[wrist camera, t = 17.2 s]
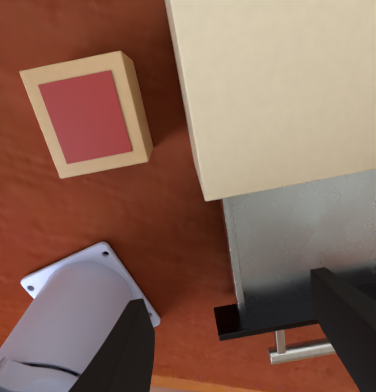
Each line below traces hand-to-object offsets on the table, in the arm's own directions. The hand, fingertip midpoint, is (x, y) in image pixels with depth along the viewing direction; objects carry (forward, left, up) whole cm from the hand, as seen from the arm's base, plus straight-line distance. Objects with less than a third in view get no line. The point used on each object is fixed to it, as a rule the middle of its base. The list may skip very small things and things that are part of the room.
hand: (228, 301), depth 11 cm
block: (+9, +3, -9) cm, 14 cm away
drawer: (-7, -6, -8) cm, 12 cm away
